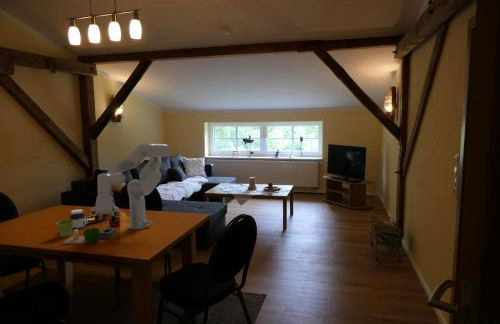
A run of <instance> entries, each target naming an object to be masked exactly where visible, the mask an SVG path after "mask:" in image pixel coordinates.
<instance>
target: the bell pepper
mask: <svg viewBox="0 0 500 324" xmlns="http://www.w3.org/2000/svg"><path fill="white" fill-rule="evenodd" d="M89 227H90V228H86V229H85V230H84V231H83V236H84V238H85V241H84V242H85V243H86V244H88V245H89V244H90V245H91V244H95V243H98V241H100V240H99V239H100V238H99V235H100V234H99V233H100V229H99V227H93V226H92V224H89Z"/></svg>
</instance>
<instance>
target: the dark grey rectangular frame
mask: <svg viewBox="0 0 500 324" xmlns="http://www.w3.org/2000/svg"><path fill="white" fill-rule="evenodd" d="M99 234H100V235H99V239H111V238H113V237H114V236H115V235H116V234H117V230H116V227H115V228H109V227H107V228H104V229H103V230H101V231H99Z"/></svg>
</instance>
